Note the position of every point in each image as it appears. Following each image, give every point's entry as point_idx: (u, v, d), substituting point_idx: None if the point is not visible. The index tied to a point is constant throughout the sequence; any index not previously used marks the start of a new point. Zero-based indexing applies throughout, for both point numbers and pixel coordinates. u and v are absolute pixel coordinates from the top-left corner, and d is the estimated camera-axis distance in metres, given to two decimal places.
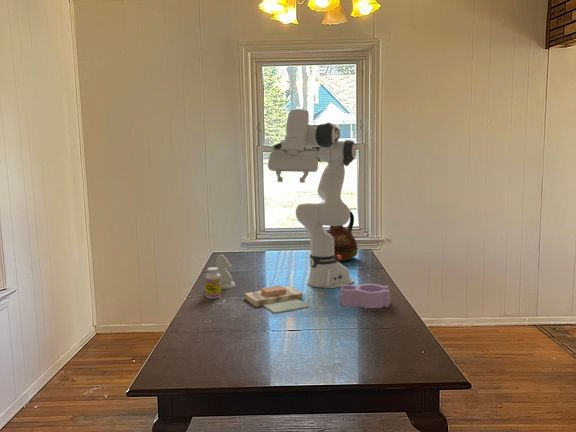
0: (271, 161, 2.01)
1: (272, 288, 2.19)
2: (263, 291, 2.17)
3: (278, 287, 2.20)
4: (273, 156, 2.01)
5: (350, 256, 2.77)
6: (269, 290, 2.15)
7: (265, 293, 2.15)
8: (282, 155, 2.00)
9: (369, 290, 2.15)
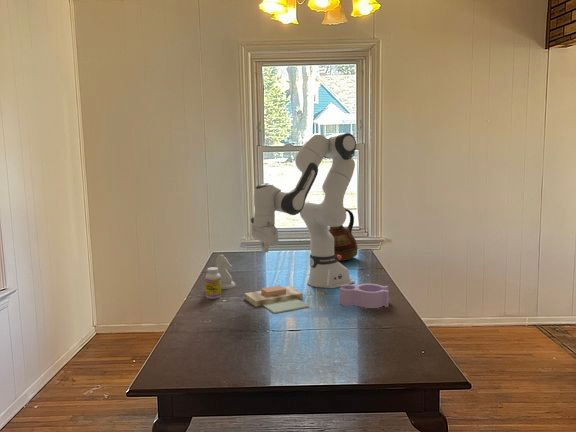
0: (253, 231, 2.28)
1: (272, 288, 2.19)
2: (263, 291, 2.17)
3: (278, 287, 2.20)
4: (253, 228, 2.27)
5: (350, 256, 2.77)
6: (269, 290, 2.15)
7: (265, 293, 2.15)
8: (256, 227, 2.24)
9: (369, 290, 2.15)
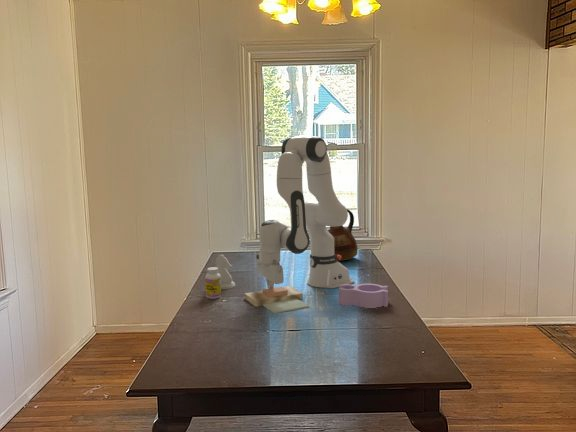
0: (258, 267, 2.26)
1: (274, 289, 2.17)
2: (264, 292, 2.15)
3: (280, 288, 2.18)
4: (259, 263, 2.25)
5: (350, 256, 2.77)
6: (271, 291, 2.14)
7: (266, 294, 2.14)
8: (262, 263, 2.22)
9: (368, 290, 2.15)
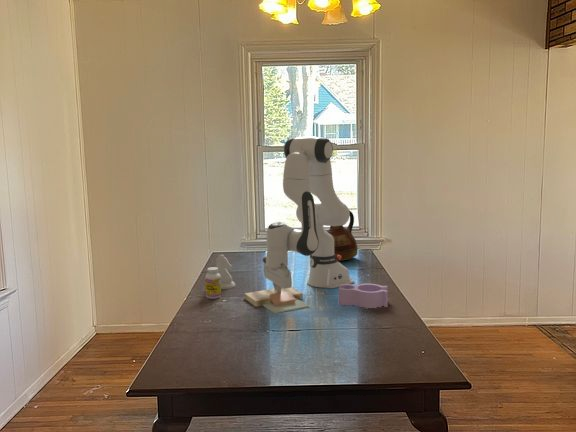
0: (265, 271, 2.20)
1: (282, 295, 2.11)
2: (272, 298, 2.09)
3: (288, 294, 2.12)
4: (265, 267, 2.19)
5: (350, 256, 2.77)
6: (279, 299, 2.08)
7: (274, 302, 2.08)
8: (269, 267, 2.16)
9: (368, 290, 2.15)
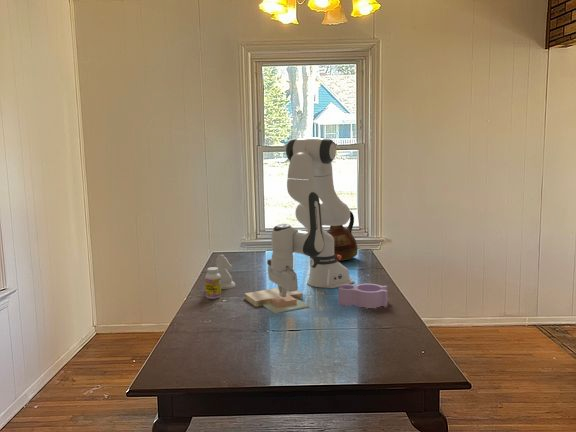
0: (269, 273, 2.16)
1: (282, 298, 2.10)
2: (273, 302, 2.08)
3: (288, 297, 2.11)
4: (270, 270, 2.15)
5: (350, 256, 2.77)
6: (279, 301, 2.07)
7: (275, 304, 2.07)
8: (274, 270, 2.12)
9: (368, 289, 2.15)
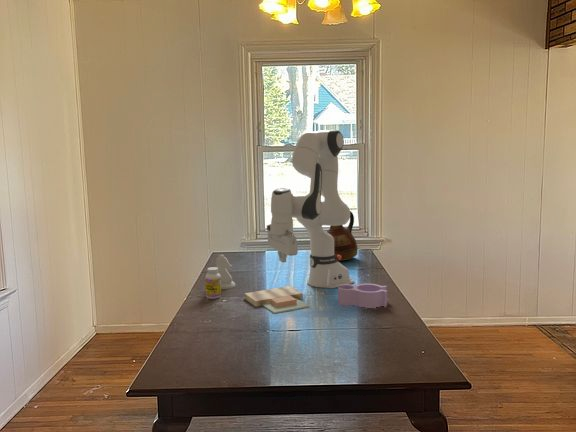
0: (269, 239, 2.13)
1: (282, 298, 2.10)
2: (273, 302, 2.08)
3: (288, 297, 2.11)
4: (270, 235, 2.12)
5: (350, 256, 2.77)
6: (279, 301, 2.07)
7: (275, 304, 2.07)
8: (273, 235, 2.09)
9: (368, 289, 2.15)
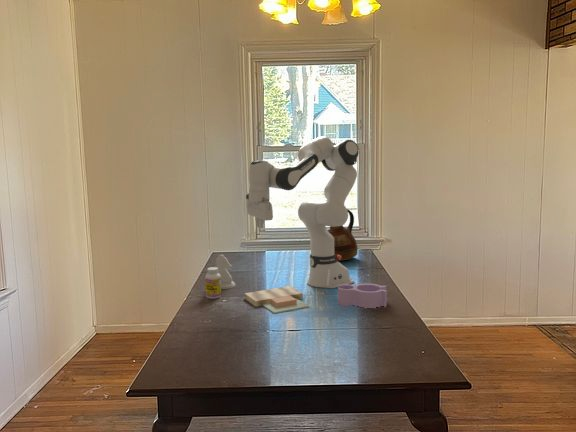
0: (248, 208, 2.31)
1: (282, 298, 2.10)
2: (273, 302, 2.08)
3: (288, 297, 2.11)
4: (248, 204, 2.30)
5: (350, 256, 2.77)
6: (279, 301, 2.07)
7: (275, 304, 2.07)
8: (251, 203, 2.27)
9: (367, 289, 2.15)
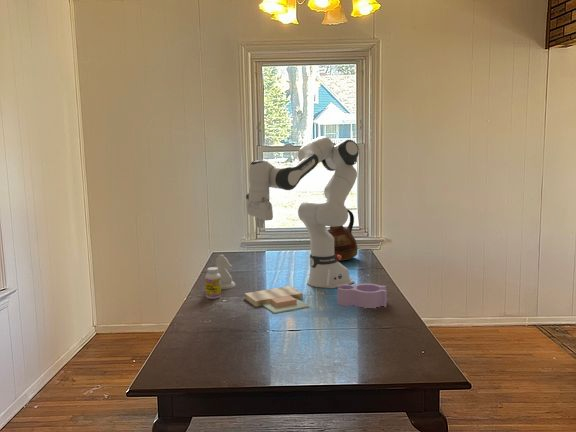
0: (248, 208, 2.31)
1: (282, 298, 2.10)
2: (273, 302, 2.08)
3: (288, 297, 2.11)
4: (248, 204, 2.30)
5: (350, 256, 2.77)
6: (279, 301, 2.07)
7: (275, 304, 2.07)
8: (251, 203, 2.27)
9: (367, 289, 2.15)
